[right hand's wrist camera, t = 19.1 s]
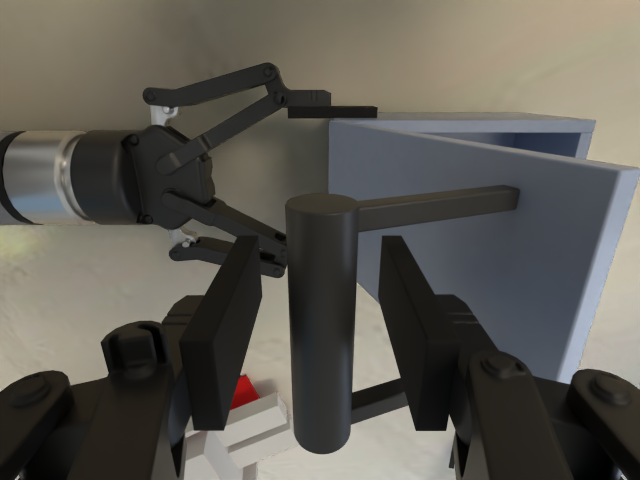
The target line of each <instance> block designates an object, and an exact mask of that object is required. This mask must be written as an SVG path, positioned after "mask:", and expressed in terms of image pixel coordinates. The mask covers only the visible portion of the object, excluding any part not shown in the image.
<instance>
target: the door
mask: <svg viewBox="0 0 640 480" xmlns="http://www.w3.org/2000/svg"><path fill="white" fill-rule="evenodd" d="M639 177H640V169H639V168H636V167H630V166H624V165H617V164H611V163H605V162H598V161H592V160H586V159H579V158H573V157H567V156H560V155H554V154H548V153H541V152H535V151H529V150H522V149H516V148H510V147H504V146H497V145H491V144H485V143H478V142H472V141H466V140H459V139H453V138H447V137H440V136H434V135H428V134H421V133H415V132H409V131H402V130H396V129H390V128H383V127H377V126H371V125H364V124H358V123H352V122H345V121H329V185H328V194H326V193H318V194H306V195H301V196H297V197H294V198H291V199H289V200H288V201H287V202H286V204H285V211H286V238H287V265H288V292H289V319H290V346H291V373H292V399H293V426H294V435H295V438H296V440H297V442H298V443H299V444H300V445H301V446H302V447H303V448H304V449H306V450H307V451H309V452H312V453H316V454H329V453H333V452H335V451H337V450H339V449H340V448H342V447H343V446H344V445H345V443H346V442H347V440H348V439H349V436H350V429H351V425H352V424H355V423H357V422H360V421H363V420H366V419H369V418H372V417H375V416H378V415H381V414H384V413H387V412H390V411H393V410H396V409H399V408H402V407H405V406H408V401H407V398H406V394H405V391H404V387H403V383H402V380H401V378H399V379H396V380H392V381H389V382H386V383H383V384H379V385H376V386H373V387H370V388H366V389H363V390H360V391H356V392H353V393H352V380H353V356H354V331H355V307H356V282H358V283H359V284H360V285H361V286H362V287H363V288H364V289H365V290H366V291H367V292H368V293H369V294H370V295H371V296H372V297H373V298H374V299H375V300H376V301H377V302H378V303H379V304H380V302H379V299H378V286H379V271H380V257H381V242H382V235H401V236H402V237H403V239H404V241H405V243H406V244H407V246H408V248H409V250H410V252H411V253H412V255H413V257H414V259H415V260H416V262H417V264H418V266H419V267H420V269H421V271H422V273H423V274H424V276H425V278H426V280H427V281H428V283H429V285H430V287H431V288H432V290H433V292H434V294H454V295H455V296H457V297H458V298H460V299H461V300H462V301H464V302H465V303H466V304H467V305H468V307H469V308H470V310H471V311H472V312H473V315H475V317H476V318H477V320H478V321H479V324H481V325H482V327H483V328H484V330H485V331H486V333H487V334H488V335H489V337H490V338H491V340H492V341H493V343H494V344H495V346H496V347H497V348H498V350H499V351H502V352H506V353H508V354H510V355H512V356H514V357H517V358H518V359H519V360H520V361H522V362H523V363H524V364H526V366H527V367H528V369H529V370H530V371H531V373H532V375H533V376H536V377H540V378H544V379H548V380H553V381H557V382H562V383H567V384H570V382H571V379H572V376H573V374H575V373H576V371H577V368H578V365H579V362H580V358H581V355H582V352H583V349H584V346H585V343H586V340H587V337H588V334H589V331H590V328H591V325H592V321H593V318H594V315H595V312H596V309H597V306H598V303H599V300H600V297H601V294H602V291H603V288H604V284H605V281H606V278H607V275H608V272H609V269H610V266H611V263H612V260H613V257H614V254H615V251H616V248H617V244H618V241H619V238H620V235H621V232H622V229H623V226H624V223H625V220H626V217H627V214H628V211H629V207H630V204H631V201H632V198H633V195H634V192H635V189H636V186H637V183H638V180H639Z"/></svg>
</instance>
